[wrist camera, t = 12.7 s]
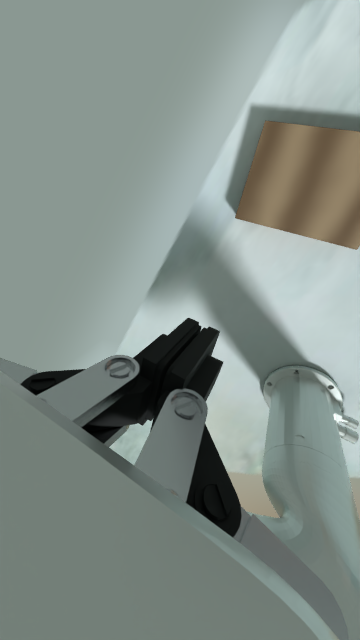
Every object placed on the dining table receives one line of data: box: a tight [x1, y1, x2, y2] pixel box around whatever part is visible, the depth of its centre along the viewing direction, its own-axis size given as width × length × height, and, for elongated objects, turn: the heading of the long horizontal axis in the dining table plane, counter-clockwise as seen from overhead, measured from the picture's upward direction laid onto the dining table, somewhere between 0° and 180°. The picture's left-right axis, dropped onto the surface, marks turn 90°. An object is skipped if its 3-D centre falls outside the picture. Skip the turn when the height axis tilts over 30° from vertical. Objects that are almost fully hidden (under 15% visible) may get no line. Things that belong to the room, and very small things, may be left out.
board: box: [235, 121, 360, 250], centre depth 28 cm, size 16×11×3 cm
